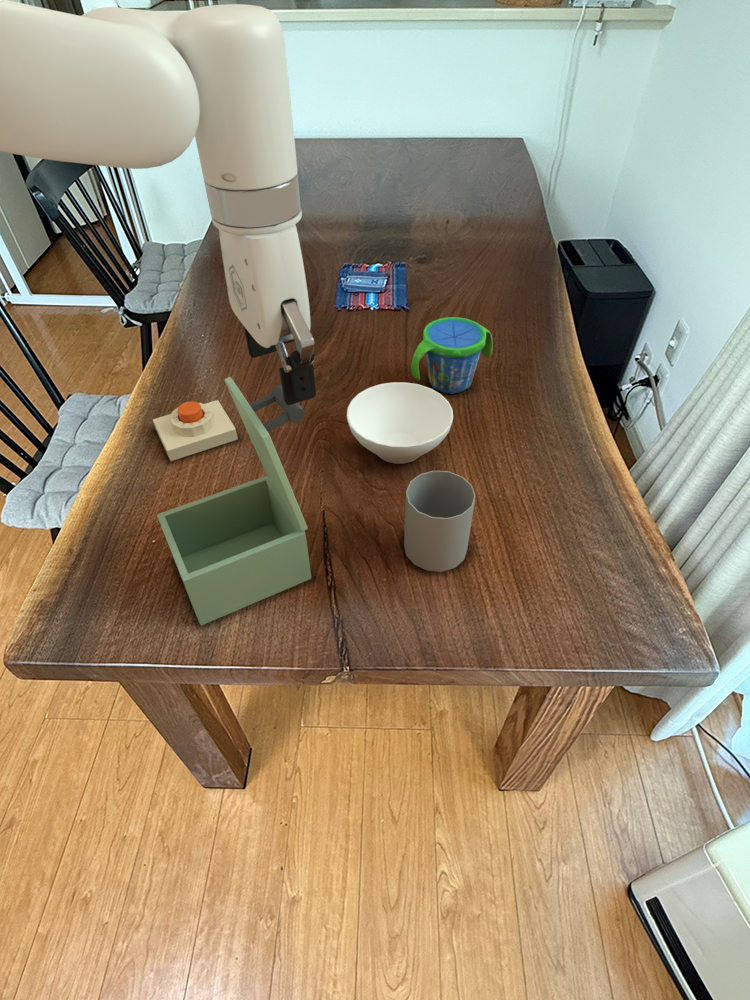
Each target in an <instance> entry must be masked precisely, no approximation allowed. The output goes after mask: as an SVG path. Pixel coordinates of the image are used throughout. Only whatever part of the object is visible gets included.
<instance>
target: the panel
mask: <svg viewBox="0 0 750 1000" xmlns="http://www.w3.org/2000/svg"><path fill="white" fill-rule="evenodd" d="M198 403H199V404H200V405H201V408H202V412H203V418H202V419H200V420H199V421H197V422H194V423H183V422H182V421H181V420H180V417H179V414H178V407H176V408H175V409H174V410H172V411H171V413H169V414H165V415H162V416H160V417H155V418H153V419H152V422H153V425H154V428H155V431H156V433H157V435H158V438H159V441H160V442H161V444H162V447H163V448H164V451H165V453H166V455H167V456H168V459H169V462H173V461H177V460H180V459H183V458H186V457H188V456H191V455H194V454H198V453H200V452H204V451H207V450H210V449H213V448H216V447H219V446H222V445H225V444H229V443H231V442H234V441H238V440H239V438H238V433H237V428H236V427H235V425H234V423H233V422H232V420H231V419H230V417H229V416H228V414H227V412H226V410H225V409H224V407H223V406H222V404H221V402H220V401H219V400H218V399H216V400H213V401H210V402H207V403H202V402H198Z"/></svg>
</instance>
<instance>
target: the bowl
mask: <svg viewBox="0 0 750 1000" xmlns="http://www.w3.org/2000/svg"><path fill="white" fill-rule="evenodd" d="M453 411H454V410H453V407H452V405H451V404H450V401H449V400H447V398H446V397H444V396H443V395H442V394H441V393H439V392H438V391H437V390H435V389H434V388H430V387H428V386H425V385H421V384H418V383H411V382H407V381H406V382H400V381H399V382H396V381H395V382H386V383H380V384H377V385H374V386H370V387H368V388H366V389H364V390H363V391H360V392H359V393H358V394H357V395H356V396H354V397H353V398H352V399H351V400H350V403H349V405H348V406H347V409H346V420H347V423H348V427H349V430H350V433H351V434H352V435H353V437H354V438H355V439H356V440H357V442H358V443H359V444H360V445H361V446H362V447H364V448H365V449H367V450H368V451H369V452H371V453H372V454H375V455H376V456H377V457H379V458H380V459H381V460H383V461H385V462H387V463H392V464H398V465H400V464H401V465H402V464H407V463H411V462H414V461H416V460H417V459H419V458H420V457H422V456H423V455H426V454H427V453H429V452H431V451H432V450H434V449H435V448H437V447H438V446H439V445H440V444H441V443H442V442H443V441H444V440H445V438H447V436H448V434H449V433H450V430H451V427H452V424H453V421H454V412H453Z"/></svg>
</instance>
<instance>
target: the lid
mask: <svg viewBox="0 0 750 1000" xmlns="http://www.w3.org/2000/svg"><path fill="white" fill-rule="evenodd" d="M223 380H224V383H225V386H226V387H227V390H228V392H229V394H230V396H231V399H232V400H233V403H234V405H235V408H236V409H237V413H238V414H239V417H240V418H241V421H242V423H243V425H244V428H245V430H246V432H247V434H248V437H249V439H250V441H251V443H252V446H253V448H254V450H255V452H256V454H257V457H258V460H259V461H260V463H261V466H262V468H263V470H264V473H265V474H266V476H268V477H269V479H270V481H271V482H272V484H273V486H274V487H275V489H276V490H277V492H278V494H279V495H280V497H281V498H282V500H283V502H284V503H285V505H286V507H287V508H288V510H289V511H290V513H291V515H292V516H293V518H294V519H295V521H296V523H297V524H298V526H299V528H300V529H301V531H304V532H305V531H306V530H308V525H307V523H306V520H305V518H304V515H303V513H302V511H301V508H300V506H299V503H298V501H297V499H296V496H295V494H294V490H293V488H292V486H291V484H290V481H289V479H288V477H287V474H286V471H285V469H284V467H283V464H282V461H281V459H280V457H279V454H278V452H277V449H276V446H275V445H274V442H273V440H272V438H271V434H270V433H269V432H271V431H273V430H275V429H276V428H279V427H281V426H282V425H285V424H287V423H289V422H291V423H293V424H298V423H300V422H302V421H303V420H304V418H305V417H306V410H305V409H304V408H303V407H302V406H301V404H300V402H298V403H295V404H292V405H287V404H286V403H285V402H284V398H283V391H282V384H277V385H276V386H274V387H273V388H272V389H271V393H270V394H267V395H266V396H263V397H261V398H259V399H257V400H254V401H253V402H251V403H249V402H248V400H247V399H246V397H245V395H243V392H242V391H241V390H240V388H239V387H238V385H237V384H236V382H235V381H234V379H233V377H232V376H227V377H226V378H224V379H223ZM275 402H276V403H277V404H278V406H279V407H280V409H281V410H282V412H283V414H280V415H278V416H276V417H275V418H272V419H270V420H268V421H266V422H263V423H262V420H260V418H259V416H258V415H257V414H256V411H259V410H261V409H262V408H265V407H267V406H269V405H271V404H273V403H275Z"/></svg>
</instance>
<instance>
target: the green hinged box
mask: <svg viewBox="0 0 750 1000" xmlns="http://www.w3.org/2000/svg"><path fill="white" fill-rule="evenodd" d="M156 517H157V520H158V523H159V525H160V527H161V530H162V532H163V535H164V538H165V540H166V543H167V545H168V548H169V551H170V553H171V555H172V558H173V560H174V563H175V566H176V567H177V570H178V573H179V576H180V578H181V581H182V583H183V585H184V589H185V591H186V593H187V596H188V598H189V601H190V603H191V606H192V609H193V611H194V614H195V616H196V618H197V621H198V623H199V626H200V627H201V626H204V625H207V624H209V623H212V622H213V621H215V620H218V619H220V618H222V617H225V616H228V615H230V614H232V613H235V612H236V611H240V610H241V609H243V608H247V607H248V606H250V605H253V604H256V603H258V602H260V601H262V600H265V599H267V598H269V597H272V596H274V595H276V594H279V593H282V592H283V591H286V590H288V589H291V588H293V587H296V586H298V585H300V584H302V583H305V582H307V581H310V580H312V572H311V571H312V570H311V564H310V556H309V551H308V542H307V535H306V531H305V530H304V531H301V529H300V528H299V526H298V524H297V523H296V521H295V519H294V518H293V516H292V515H291V513H290V511H289V510H288V508H287V507H286V505H285V503H284V502H283V500H282V498H281V497H280V495H279V494H278V492H277V490H276V489H275V487H274V486H273V484H272V482H271V481H270V479H269V477H268V476H267V475H264V476H261V477H259V478H255V479H253V480H250V481H247V482H245V483H242V484H241V483H240V484H239V485H236V486H233V487H230V488H228V489H225V490H222V491H219V492H216V493H213V494H210V495H208V496H204V497H202V498H198V499H196V500H193V501H191V502H188V503H185V504H183V505H182V504H181V505H179V506H177V507H173V508H170V509H168V510H166V511H165V510H164V511H162V512H160V513H157V514H156Z"/></svg>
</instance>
